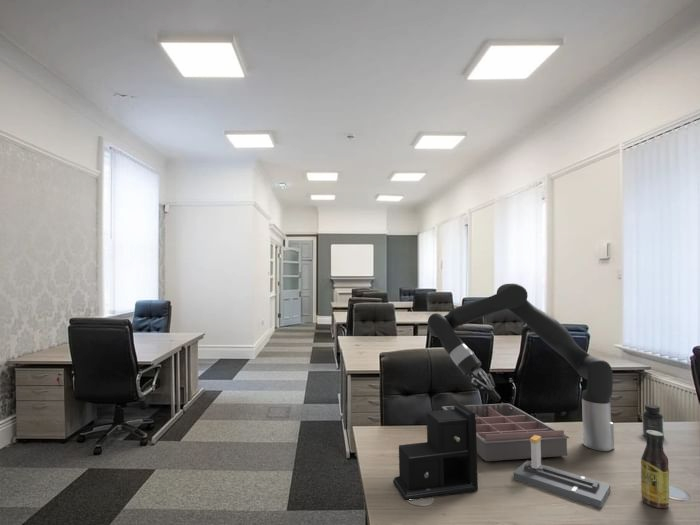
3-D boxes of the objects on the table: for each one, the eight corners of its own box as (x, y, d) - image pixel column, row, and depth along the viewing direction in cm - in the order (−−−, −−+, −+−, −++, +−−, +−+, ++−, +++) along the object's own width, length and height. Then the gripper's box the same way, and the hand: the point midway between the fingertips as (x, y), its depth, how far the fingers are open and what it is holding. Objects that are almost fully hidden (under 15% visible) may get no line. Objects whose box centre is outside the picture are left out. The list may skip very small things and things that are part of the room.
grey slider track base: (513, 478, 126) (513, 467, 126) (527, 466, 135) (527, 455, 135) (601, 508, 110) (600, 495, 110) (610, 491, 118) (610, 479, 118)
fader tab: (528, 470, 127) (527, 437, 127) (533, 465, 130) (532, 434, 130) (540, 474, 124) (539, 441, 125) (544, 469, 127) (543, 437, 128)
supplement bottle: (668, 438, 158) (667, 408, 159) (654, 440, 156) (653, 409, 157) (652, 432, 165) (650, 403, 165) (638, 434, 163) (637, 404, 164)
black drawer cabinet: (404, 501, 113) (403, 417, 114) (392, 483, 124) (392, 406, 125) (478, 492, 118) (477, 412, 119) (461, 475, 129) (460, 401, 130)
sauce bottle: (636, 498, 115) (633, 427, 116) (656, 497, 115) (653, 427, 116) (655, 511, 108) (652, 436, 109) (676, 509, 109) (673, 435, 110)
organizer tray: (509, 421, 179) (509, 398, 179) (570, 460, 139) (569, 431, 140) (441, 425, 174) (441, 402, 175) (484, 466, 135) (484, 436, 135)
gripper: (463, 355, 139) (497, 398, 130) (480, 350, 148) (513, 390, 139) (449, 368, 142) (482, 411, 133) (467, 363, 152) (499, 402, 143)
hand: (498, 400), depth 136 cm, fingers closed
